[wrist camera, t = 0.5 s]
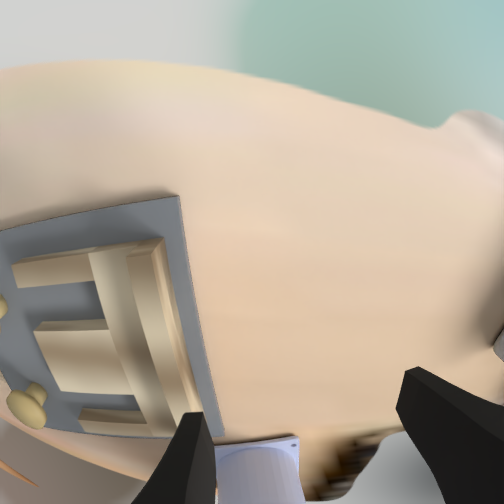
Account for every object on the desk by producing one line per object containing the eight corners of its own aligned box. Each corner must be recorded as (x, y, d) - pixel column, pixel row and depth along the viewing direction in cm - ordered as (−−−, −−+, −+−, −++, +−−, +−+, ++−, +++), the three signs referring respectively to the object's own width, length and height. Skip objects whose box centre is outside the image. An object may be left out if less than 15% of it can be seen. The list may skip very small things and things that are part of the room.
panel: (207, 421, 19) (206, 454, 16) (90, 420, 19) (79, 447, 16) (164, 237, 15) (150, 254, 12) (22, 258, 15) (-6, 274, 12)
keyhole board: (224, 429, 21) (226, 465, 17) (36, 419, 20) (22, 445, 16) (179, 195, 16) (166, 204, 12) (-39, 241, 14) (-70, 255, 11)
